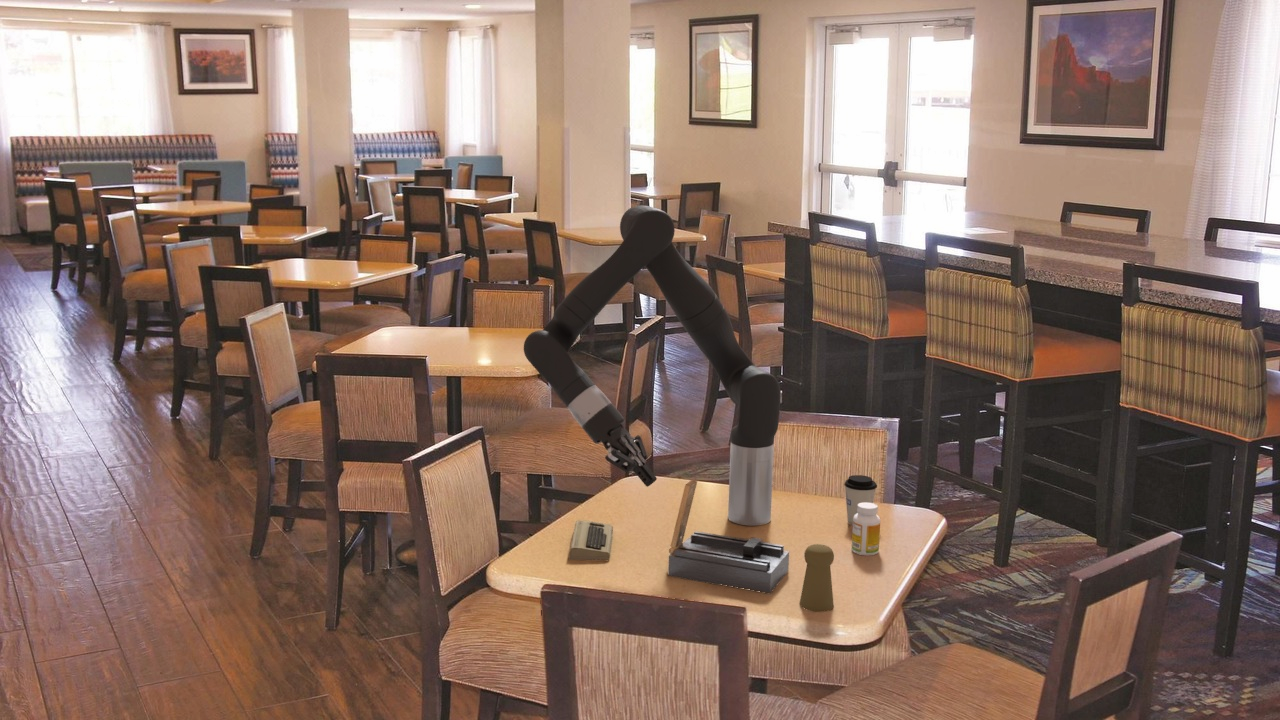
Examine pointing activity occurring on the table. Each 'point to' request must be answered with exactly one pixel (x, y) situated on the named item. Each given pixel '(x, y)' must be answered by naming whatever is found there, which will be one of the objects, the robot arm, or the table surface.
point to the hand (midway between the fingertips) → (652, 483)
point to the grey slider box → (730, 561)
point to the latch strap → (683, 515)
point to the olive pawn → (817, 579)
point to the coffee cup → (858, 493)
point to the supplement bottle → (866, 529)
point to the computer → (591, 541)
